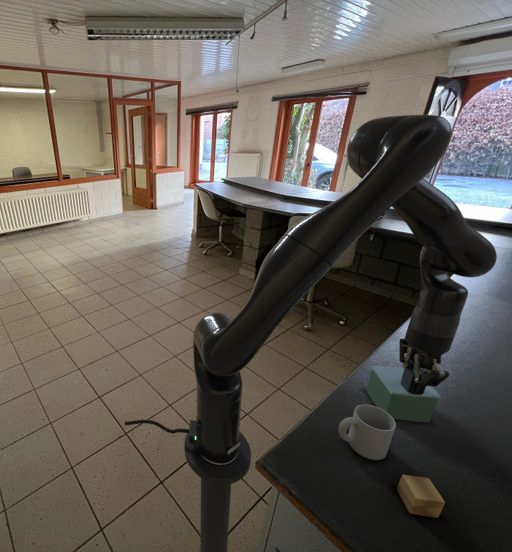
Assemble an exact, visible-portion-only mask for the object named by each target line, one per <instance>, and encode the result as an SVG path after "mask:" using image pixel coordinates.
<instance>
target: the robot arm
mask: <svg viewBox="0 0 512 552" xmlns="http://www.w3.org/2000/svg"><path fill="white" fill-rule="evenodd" d="M452 130H453V129H452V125H451V123H450V122H449V121H448V120H447V119H446V118H445V117H443V116H441V115H437V114H436V115H435V114H407V115H390V116H389V115H388V116H381V117H377V118H373V119H370V120H368V121H366V122H364V123H363V124H361V125H360V126H359V127H358V128H357V129H356V130H355V131H354V133H352V135H351V137H350V139H349V141H348V144H347V148H346V161H347V164H348V166H349V167H350V169H351V170H352V171H353V173H354V174H356V175H357V176H358V177H359V178H360V180H359V181H358V182H357V183H356V185H354V186H353V187H352V188H351V189H350V190H348V191H347V192H346V193H345V194H343V195H342V196H340V197H339V198H338V199H336V200H334V201H332V202H331V203H328V204H327V205H325V206H323V207H321V208H320V209H318V210H316V211H314V212H313V213H312V212H311V214H308V215H306V216H305V217H303V218H302V219H300V220H299V221H296V222H295V224H293V225H292V226H291V227H289V228H288V230H287V231H286V232H285V233H284V234H283V235H282V236H281V237H280V239H279V240H278V241H277V242H276V243H275V244H274V246H273V247H272V248H271V249H270V251H269V252H268V253H267V254H266V256H265V257H264V259H263V262H262V263H261V265H260V268H259V270H258V274H257V276H256V279H255V282H254V284H253V288H252V291H251V293H250V295H249V298H248V300H247V301H246V303H245V304H244V306H243V308H242V309H240V311H239V312H238V313H237V315H235V317H234V318H233V317H232V316H231V315H228V314H226V313H224V312H218V311H217V312H211V313H207V314H206V315H204V316H203V317H202V318H200V319H199V320H198V322H197V323H196V325H195V327H194V330H193V336H192V348H193V349H192V351H193V353H192V354H193V370H194V377H195V383H196V386H195V387H196V417H195V418H196V419H190V420H189V428H175V429H172V428H169V427H166V426H165V425H163V424H162V423H160V422H158V421H155V420H153V419H152V420H151V419H136V420H130V421H129V420H127V421H124V426H132V425H139V424H149V425H154V426H156V427H158V428H160V429H161V430H162V431H165V432H166V433H168V434H172V435H173V434H178V433H184V434H187V433H189V443H193V444H196V456H198V457H201V458H202V459H203V460H205V461H206V462H207V463H209V464H211V465H214V466H227V465H230V464H231V463H233V462H234V461H235V460H236V458H237V456H238V447H239V446H240V442H239V431H240V426H241V415H242V414H241V412H242V398H243V378H242V377H243V376H242V374H241V371H242V370H243V369H244V368H246V367H247V366H248V365H249V364H250V363H251V361H252V360H253V359H254V358H255V356H256V355H257V354H258V352H259V351H260V349H262V347H263V346H264V345H265V343H266V342H267V340H269V338H270V336H271V335H272V334H273V332H274V331H275V330H276V328H277V327H278V326H279V325H280V323H281V322H282V321H283V320H284V319H285V318H286V317H287V316H288V315H289V313H290V312H291V311H292V310H293V309H294V308H295V307H296V305H298V304H299V302H300V301H301V300H302V299H303V297H305V295H307V294H308V293H309V292H310V291H311V290H312V289H313V287H315V286H316V285H317V284H318V283H319V281H320V280H322V278H323V277H324V276H325V275H326V274H327V273H329V271H330V270H331V269H332V267H334V265H335V264H336V263H337V262H338V261H339V260H340V259H341V257H342V256H343V255H344V254H345V253H346V252H347V251H348V250H349V249H350V247H352V245H354V244H355V243H356V242H357V240H358V239H360V237H362V235H364V234H365V232H366V231H367V230H368V229H369V228H370V227H371V226H373V224H374V223H376V221H377V220H379V219H380V218H381V217H382V216H383V215H384V214H385V213H386V212H387V211H389V209H391V208H393V209H394V211H395V212H396V213H397V214H398V215H399V216H400V218H401V219H402V220H403V221H404V222H405V224H406V225H407V227H408V228H409V230H410V231H411V233H412V234H413V236H414V237H415V239H416V240H417V242H418V243H419V244H420V245H421V246H422V247H421V250H420V253H419V272H420V290H419V291H420V292H419V294H418V298H417V300H416V301H417V302H416V305H415V306H414V309H413V310H412V312H411V315H410V319H409V323H408V324H407V328H406V331H405V335H404V338H399V339H398V341H399V349H398V350H399V357H398V359H399V362H400V363H402V368H404V371H405V368H410V369H414V371H415V372H416V373H415V380H414V381H413V384H412V387H411V390H410V392H411V393H412V394H414V395H422V394H424V391H425V388H426V386H431V387H432V388H436V387H437V386H439V385H440V384H442V383H443V382H444V381H445V380H446V379H448V378H449V377H450V373H449V371H447V370H443V368H442V366H441V363H442V356H443V355H444V354H446V353H449V352H450V350H451V348H452V346H453V345H452V344H453V342H454V339H455V336H456V334H457V332H458V329H459V326H460V321H461V316H462V313H463V310H464V307H465V306H466V302H467V299H468V297H469V290H468V289H467V287H466V286H464V285H462V284H461V283H459V282H457V281H455V280H454V279H452V278H451V277H450V275H449V274H452V275H456V276H459V277H462V278H477V277H478V278H479V277H482V276H484V275H486V274H487V273H489V272H490V271H492V269H493V268H494V267H495V266H496V263H497V258H498V254H497V249H496V247H495V246H494V244H493V243H492V242H491V241H490V240H489V239H488V238H486V237H485V236H484V235H483V234H482V233H480V232H479V231H477V230H476V229H475V228H473V227H472V226H470V225H469V224H468V223H467V221H466V219H465V216H464V215H463V213H462V211H461V210H460V208H459V206H458V205H457V204H456V203H455V201H454V200H453V199H452V198H451V197H450V196H448V195H447V194H446V193H444V192H443V191H442V190H440V189H439V188H437V186H435V185H433V184H432V183H431V182H429V181H428V180H426V179H425V177H426V176H427V175H428V174H430V173H431V171H433V170H434V168H435V167H436V165H437V164H438V163H439V162H440V161H441V160H442V158H443V156H444V155H445V153H446V152H447V150H448V147H449V145H450V143H451V139H452V136H453V135H452V133H453V131H452ZM403 374H404V372H403ZM422 374H425V377H424V378H423V377H421V375H422ZM402 377H403V375H402ZM401 380H402V379H401Z"/></svg>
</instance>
